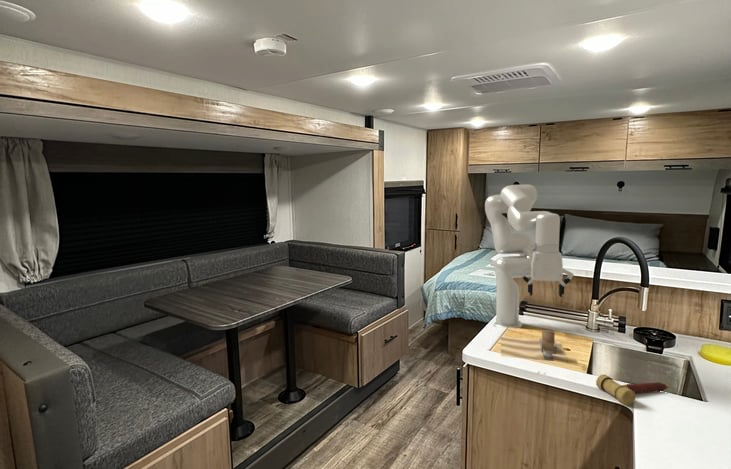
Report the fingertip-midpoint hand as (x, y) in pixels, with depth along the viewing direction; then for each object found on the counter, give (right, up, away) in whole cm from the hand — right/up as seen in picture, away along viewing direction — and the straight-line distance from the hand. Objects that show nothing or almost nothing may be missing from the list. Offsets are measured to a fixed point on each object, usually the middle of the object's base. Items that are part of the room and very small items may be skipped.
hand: (545, 295), depth 138 cm
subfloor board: (-2, -23, +8) cm, 24 cm away
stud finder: (+4, -21, +7) cm, 23 cm away
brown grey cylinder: (+1, -22, +1) cm, 22 cm away
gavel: (+18, -26, -22) cm, 39 cm away
